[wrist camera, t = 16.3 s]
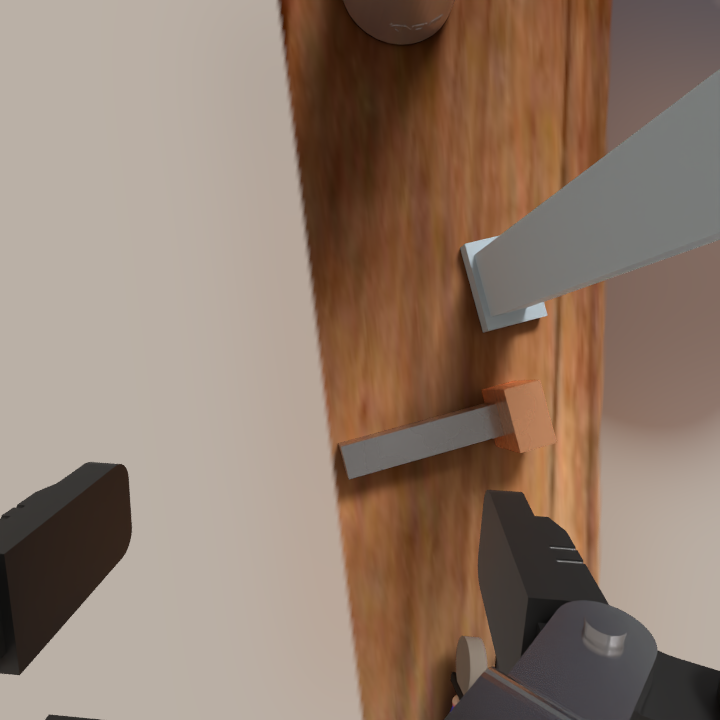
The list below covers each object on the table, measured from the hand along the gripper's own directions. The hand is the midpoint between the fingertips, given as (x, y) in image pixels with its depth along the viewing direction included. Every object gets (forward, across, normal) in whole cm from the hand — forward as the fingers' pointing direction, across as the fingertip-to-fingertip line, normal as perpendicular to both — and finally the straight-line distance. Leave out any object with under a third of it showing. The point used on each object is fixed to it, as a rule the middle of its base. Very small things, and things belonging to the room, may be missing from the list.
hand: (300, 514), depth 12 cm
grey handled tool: (+28, -5, +8) cm, 30 cm away
